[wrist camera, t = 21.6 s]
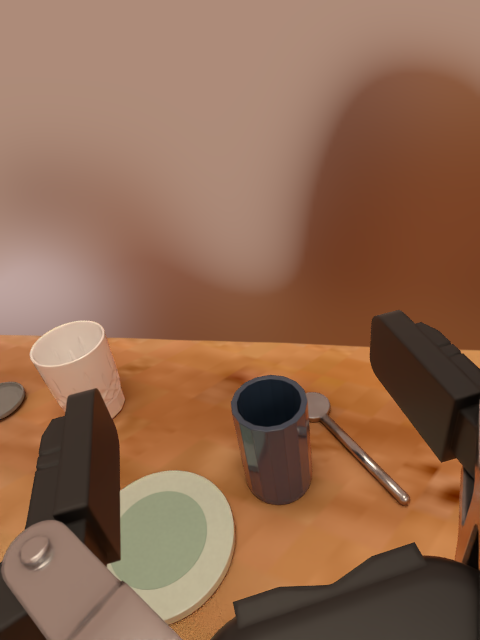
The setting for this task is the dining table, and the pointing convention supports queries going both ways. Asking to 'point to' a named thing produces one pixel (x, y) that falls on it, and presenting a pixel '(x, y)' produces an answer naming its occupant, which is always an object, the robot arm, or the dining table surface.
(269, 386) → the tumbler
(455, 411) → the robot arm
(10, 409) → the pocket watch
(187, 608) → the side plate
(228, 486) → the dining table surface
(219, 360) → the dining table surface
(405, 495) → the spoon
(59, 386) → the white cup
